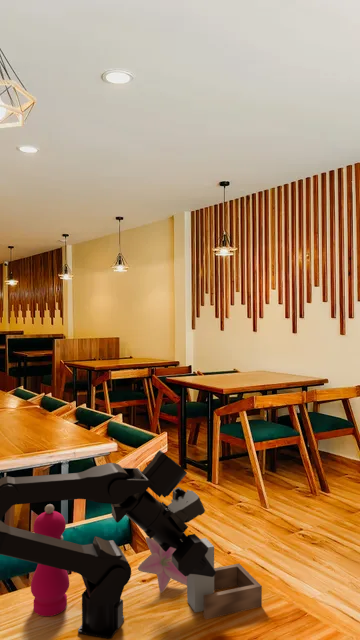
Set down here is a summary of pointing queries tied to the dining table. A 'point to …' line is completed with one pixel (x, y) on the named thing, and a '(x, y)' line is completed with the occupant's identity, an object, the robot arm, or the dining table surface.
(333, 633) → the dining table surface
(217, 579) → the bay
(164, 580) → the lily
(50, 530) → the pepper mill
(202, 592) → the tall grey pillar block
